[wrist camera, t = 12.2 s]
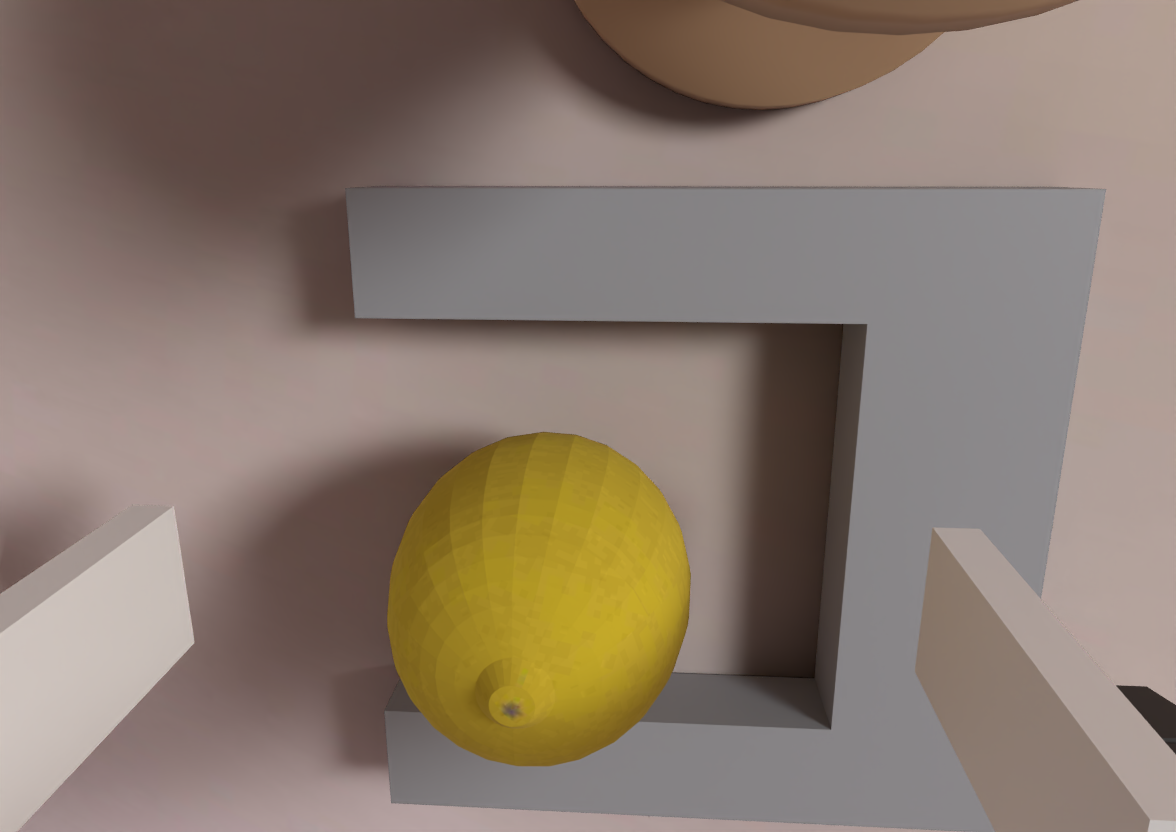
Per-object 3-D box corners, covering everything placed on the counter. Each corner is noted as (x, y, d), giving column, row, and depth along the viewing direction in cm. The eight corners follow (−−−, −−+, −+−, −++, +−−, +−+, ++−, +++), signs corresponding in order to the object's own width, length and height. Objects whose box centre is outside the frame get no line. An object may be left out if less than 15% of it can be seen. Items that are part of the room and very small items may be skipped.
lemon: (414, 562, 21) (277, 787, 13) (495, 353, 19) (394, 470, 12) (626, 647, 21) (614, 918, 13) (722, 447, 20) (770, 623, 12)
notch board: (377, 186, 18) (345, 188, 17) (1056, 186, 18) (1105, 188, 16) (413, 748, 22) (391, 803, 20) (971, 773, 21) (1003, 833, 19)
